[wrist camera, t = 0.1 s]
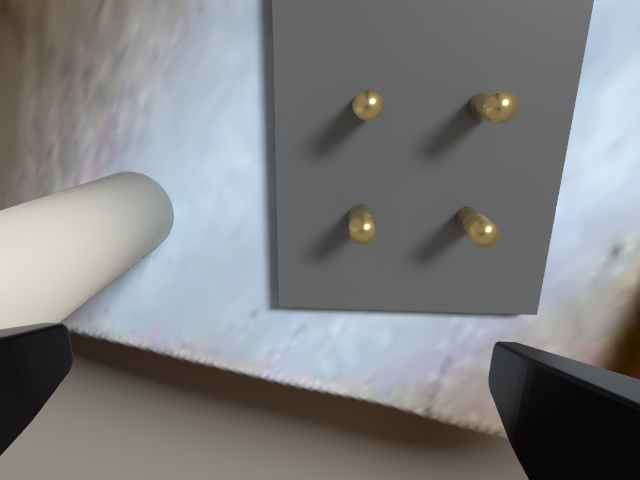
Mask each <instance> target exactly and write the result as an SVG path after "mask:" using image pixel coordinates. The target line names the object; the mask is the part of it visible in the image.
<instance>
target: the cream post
mask: <svg viewBox="0 0 640 480" xmlns="http://www.w3.org/2000/svg"><path fill="white" fill-rule="evenodd" d="M173 220H174V212H173V207H172V203H171V201H170V198H169V196H168V195H167V193H166V192H165V190H164V189H163V188H162V187H161V186H160V185H159V184H158V183H157V182H156V181H155V180H153V179H151V178H150V177H148V176H146V175H143V174H141V173H136V172H120V173H117V174H113V175H110V176H107V177H104V178H101V179H98V180H95V181H92V182H88V183H85V184H82V185H79V186H76V187H73V188H70V189H67V190H63V191H60V192H57V193H54V194H51V195H48V196H45V197H42V198H38V199H35V200H32V201H29V202H26V203H23V204H20V205H16V206H13V207H10V208H7V209H4V210H1V211H0V329H7V328H13V327H20V326H26V325H33V324H39V323H60V322H61V321H62V320H63V319H65V318H66V317H67V316H69V315H70V314H71V313H72V312H74V311H75V310H76V309H77V308H79V307H80V306H81V305H83V304H84V303H85V302H86V301H88V300H89V299H90V298H92V297H93V296H94V295H95V294H97V293H98V292H99V291H100V290H102V289H103V288H104V287H106V286H107V285H108V284H109V283H111V282H112V281H113V280H114V279H116V278H117V277H118V276H120V275H121V274H122V273H123V272H125V271H126V270H127V269H128V268H130V267H131V266H132V265H134V264H135V263H136V262H137V261H139V260H140V259H141V258H142V257H144V256H145V255H146V254H148V253H149V252H150V251H151V250H153V249H154V248H155V247H156V246H158V245H159V244H160V243H162V242H163V241H164V240H165V239H166V238H167V236H168V235H169V233H170V231H171V229H172V226H173Z"/></svg>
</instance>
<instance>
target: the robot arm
mask: <svg viewBox="0 0 640 480" xmlns="http://www.w3.org/2000/svg"><path fill="white" fill-rule="evenodd" d="M72 363H73V354H72V349H71V344H70V338H69V332H68V328H67V327H66V326H65V325H64V324H62V323H39V324H33V325H26V326H20V327H13V328H7V329H0V456H1V454H3V452H4V451H5V450H6V449H7V448H8V447H9V446H10V445H11V444H12V443H13V442H14V440H15V439H16V438H17V437H18V436H19V435H20V434H21V433H22V432H23V430H24V429H25V428H26V427H27V426H28V425H29V424H30V422H31V421H32V420H33V419H34V417H35V416H36V415H37V414H38V412H39V411H40V410H41V408H42V407H43V405H44V404H45V403H46V402H47V400H48V399H49V398H50V396H51V395H52V394H53V392H54V391H55V390H56V388H57V387H58V386H59V384H60V383H61V382H62V381H63V379H64V378H65V376H66V375H67V374H68V373H69V371H70V369H71V366H72ZM489 388H490V392H491V394H492V397H493V399H494V402H495V405H496V407H497V410H498V413H499V415H500V418H501V420H502V423H503V426H504V428H505V431H506V434H507V436H508V439H509V441H510V443H511V446H512V448H513V450H514V452H515V454H516V456H517V458H518V460H519V462H520V464H521V466H522V467H523V469H524V471H525V473H526V475H527V477H528V479H529V480H640V380H638V379H635V378H632V377H628V376H625V375H622V374H618V373H615V372H612V371H609V370H605V369H602V368H599V367H595V366H592V365H589V364H586V363H582V362H579V361H576V360H572V359H569V358H566V357H563V356H559V355H556V354H553V353H549V352H546V351H543V350H539V349H536V348H533V347H530V346H526V345H523V344H520V343H516V342H497V343H496V344H495V345H494V348H493V353H492V359H491V365H490V371H489Z"/></svg>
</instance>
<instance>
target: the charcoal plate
mask: <svg viewBox="0 0 640 480" xmlns="http://www.w3.org/2000/svg"><path fill="white" fill-rule="evenodd" d="M593 2H594V0H272V28H273V73H274V119H275V164H276V210H277V255H278V301H279V307H291V308H325V309H359V310H392V311H426V312H460V313H493V314H527V315H537V311H538V305H539V300H540V294H541V289H542V283H543V278H544V272H545V267H546V261H547V256H548V250H549V245H550V239H551V233H552V228H553V222H554V217H555V211H556V206H557V200H558V195H559V189H560V184H561V178H562V173H563V167H564V162H565V156H566V151H567V145H568V140H569V134H570V129H571V123H572V118H573V112H574V107H575V101H576V96H577V90H578V85H579V79H580V74H581V68H582V63H583V57H584V52H585V46H586V41H587V35H588V30H589V24H590V19H591V13H592V8H593Z"/></svg>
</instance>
